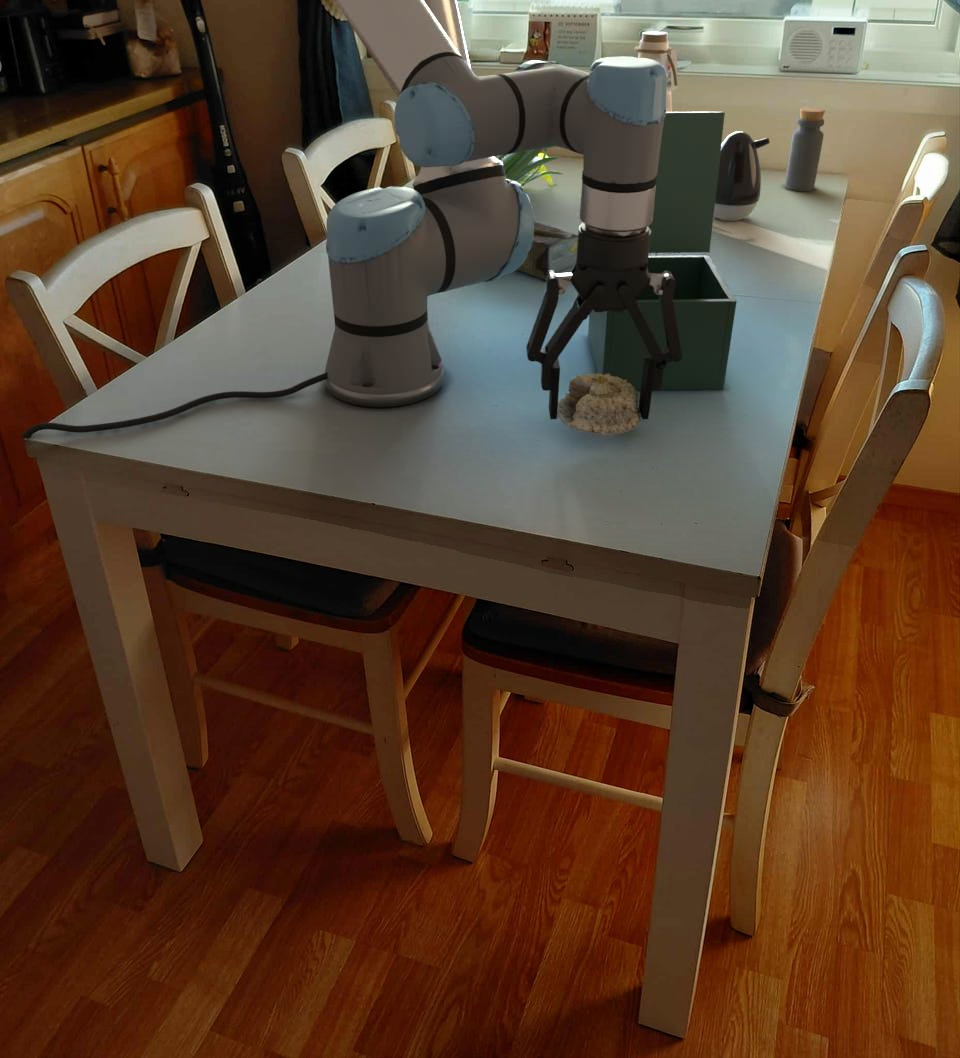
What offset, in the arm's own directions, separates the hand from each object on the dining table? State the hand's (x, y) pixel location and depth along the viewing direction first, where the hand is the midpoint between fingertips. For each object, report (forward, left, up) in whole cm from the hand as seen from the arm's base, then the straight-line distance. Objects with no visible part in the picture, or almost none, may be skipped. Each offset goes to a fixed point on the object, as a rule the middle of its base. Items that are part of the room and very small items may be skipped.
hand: (598, 413), depth 114 cm
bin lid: (+23, +19, +18) cm, 35 cm away
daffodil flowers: (+46, +84, -3) cm, 96 cm away
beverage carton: (+25, +53, -3) cm, 59 cm away
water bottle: (+74, +80, -3) cm, 109 cm away
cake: (0, 0, 0) cm, 0 cm away
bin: (+18, +11, -2) cm, 21 cm away
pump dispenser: (+72, +53, -3) cm, 90 cm away
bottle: (+98, +60, -3) cm, 115 cm away
